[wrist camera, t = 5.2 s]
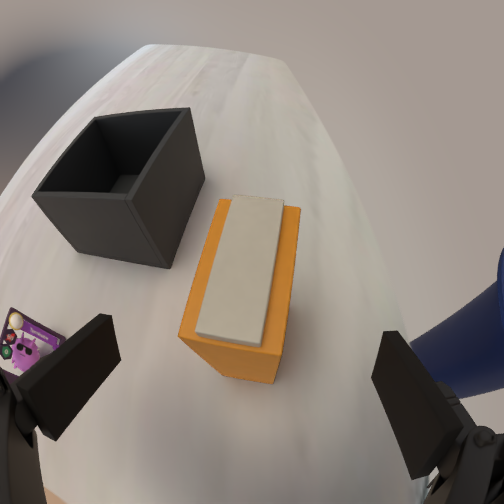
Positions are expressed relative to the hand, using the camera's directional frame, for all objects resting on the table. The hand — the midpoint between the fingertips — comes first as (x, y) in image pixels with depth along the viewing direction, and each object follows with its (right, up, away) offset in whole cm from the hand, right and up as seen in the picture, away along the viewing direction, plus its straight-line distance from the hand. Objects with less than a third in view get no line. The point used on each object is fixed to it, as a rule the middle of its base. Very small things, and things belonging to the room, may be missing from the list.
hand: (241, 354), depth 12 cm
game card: (-21, -7, +8) cm, 23 cm away
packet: (+1, -2, +10) cm, 10 cm away
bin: (-12, +9, +17) cm, 23 cm away
